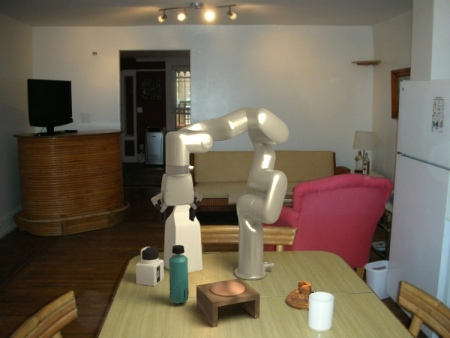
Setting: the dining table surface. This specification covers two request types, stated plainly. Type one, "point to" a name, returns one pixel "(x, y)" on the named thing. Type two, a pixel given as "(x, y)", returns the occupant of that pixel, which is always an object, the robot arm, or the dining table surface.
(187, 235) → the milk
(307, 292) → the candle holder
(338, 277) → the dining table surface
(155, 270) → the container
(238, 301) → the wooden u-channel bracket
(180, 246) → the beverage bottle
